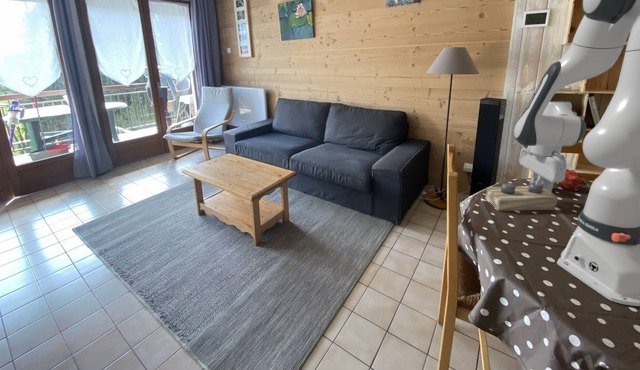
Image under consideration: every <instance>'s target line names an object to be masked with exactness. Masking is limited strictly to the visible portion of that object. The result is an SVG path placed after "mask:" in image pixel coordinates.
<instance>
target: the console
mask: <svg viewBox="0 0 640 370" xmlns="http://www.w3.org/2000/svg"><path fill="white" fill-rule="evenodd" d="M515 186H516V185H515ZM501 187H502V186H488V187H486V193H485V197H484V199H485V200H486V202H488V203H489V202H490V203H491V204H492V205H493V206H492V205H491V204H490V203H489V204H490V205H491V206H492V207H493V208H495V209H496V210H497V212H499V211H501V212H502V211H542V210H545V211H546V210H547V211H549V210H550V211H551V210H553V211H554V210H555V209H556V207H557V206H556V205H557V201H558V199H559V196H557V195H556V194H554V193H553V192H549V191H548V190H546V189H544V188H543V191H542V193H533V192H530V191H528V188H529V185H526V186H525V185H524V186H523V185H522V186H519V185H518V186H516V188H515V192H514V194H507V193H503V192H501Z"/></svg>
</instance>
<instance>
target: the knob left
mask: <svg viewBox="0 0 640 370" xmlns="http://www.w3.org/2000/svg"><path fill="white" fill-rule="evenodd" d="M500 187H501V192H503V193H507V194H514V192H515V188H516V184H513V183H508V182H506V183H505V182H504V183H502V184H501V186H500Z"/></svg>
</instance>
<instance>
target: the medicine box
mask: <svg viewBox="0 0 640 370" xmlns="http://www.w3.org/2000/svg"><path fill="white" fill-rule="evenodd" d="M538 178H539V177H538ZM530 183H532V174H531V175H530V179H529V184H530ZM554 184H555V182H551V181H549V180H547V179H545V180H544V181H543V182H542V185H544V187H543V188H544V189H546V190H548V191H549V192H551V193H553V192H552V191H553V188H554Z"/></svg>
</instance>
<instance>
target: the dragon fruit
mask: <svg viewBox="0 0 640 370" xmlns="http://www.w3.org/2000/svg"><path fill="white" fill-rule="evenodd" d="M557 184H558V188H562V187H563V188H565V189H567V190H568V191H571V192H576V191H577V190H576V189H583V188H584V186H585V187H587V184H588V182H587V181H586V179H584V178H583V176H582V174H580V173H577V171H575V170H573V169H569V168H566V174H565V179H564V180H563V181H562V182H557Z"/></svg>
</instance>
